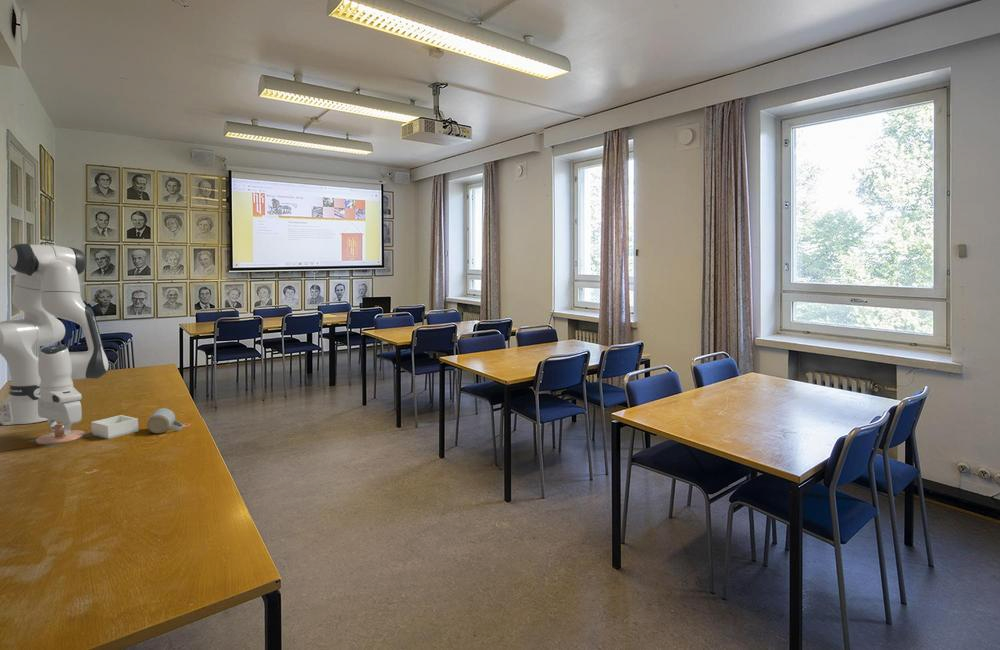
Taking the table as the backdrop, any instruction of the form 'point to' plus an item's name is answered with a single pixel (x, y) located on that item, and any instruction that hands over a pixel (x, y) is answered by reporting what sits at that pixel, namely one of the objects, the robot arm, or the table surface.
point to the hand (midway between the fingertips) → (60, 432)
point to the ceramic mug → (163, 421)
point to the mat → (59, 443)
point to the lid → (60, 436)
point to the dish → (114, 426)
